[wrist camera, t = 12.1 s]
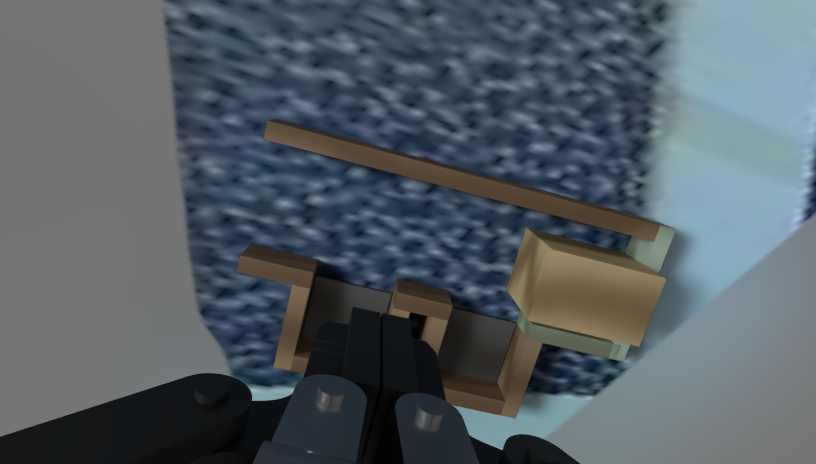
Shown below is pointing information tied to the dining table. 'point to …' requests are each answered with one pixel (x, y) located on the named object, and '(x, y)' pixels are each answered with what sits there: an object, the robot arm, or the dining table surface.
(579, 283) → the block
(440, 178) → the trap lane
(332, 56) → the dining table surface
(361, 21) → the dining table surface
